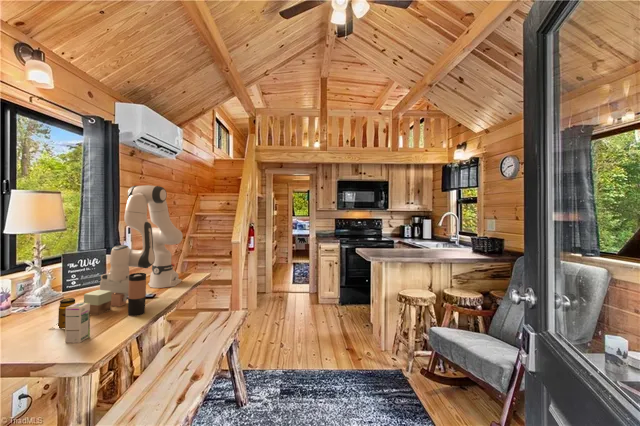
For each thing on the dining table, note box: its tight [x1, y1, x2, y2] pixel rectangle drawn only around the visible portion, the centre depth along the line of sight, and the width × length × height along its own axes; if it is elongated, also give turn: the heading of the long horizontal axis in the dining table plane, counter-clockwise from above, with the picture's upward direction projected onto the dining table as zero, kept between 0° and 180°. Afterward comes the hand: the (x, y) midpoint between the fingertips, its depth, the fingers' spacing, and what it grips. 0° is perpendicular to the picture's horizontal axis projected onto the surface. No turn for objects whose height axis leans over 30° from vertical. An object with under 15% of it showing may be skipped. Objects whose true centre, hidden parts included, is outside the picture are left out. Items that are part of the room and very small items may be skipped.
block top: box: [83, 289, 112, 305], centre depth 154 cm, size 8×8×5 cm
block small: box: [111, 293, 127, 307], centre depth 165 cm, size 5×5×6 cm
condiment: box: [49, 297, 76, 330], centre depth 135 cm, size 7×8×12 cm
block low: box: [90, 301, 112, 316], centre depth 154 cm, size 8×8×5 cm
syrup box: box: [64, 301, 91, 344], centre depth 123 cm, size 6×6×14 cm
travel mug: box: [127, 272, 147, 317], centre depth 153 cm, size 8×8×20 cm
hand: (118, 300), depth 165 cm, fingers closed on block small, 5 cm apart
